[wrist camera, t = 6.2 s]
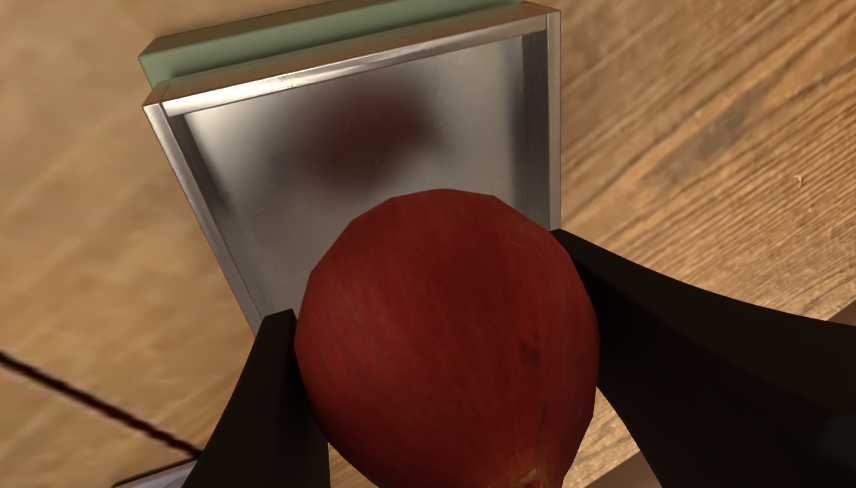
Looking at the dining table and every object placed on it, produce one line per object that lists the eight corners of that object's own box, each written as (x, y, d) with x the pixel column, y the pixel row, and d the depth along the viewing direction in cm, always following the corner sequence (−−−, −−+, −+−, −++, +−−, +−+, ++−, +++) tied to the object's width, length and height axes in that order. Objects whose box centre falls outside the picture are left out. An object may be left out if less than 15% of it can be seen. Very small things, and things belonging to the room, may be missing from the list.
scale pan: (534, 276, 20) (560, 309, 18) (282, 354, 18) (284, 398, 16) (524, -1, 14) (561, 9, 12) (156, 81, 12) (140, 105, 11)
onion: (543, 210, 14) (798, 458, 7) (416, 352, 15) (535, 663, 9) (380, 84, 11) (572, 320, 4) (240, 277, 12) (224, 672, 6)
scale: (515, 235, 23) (540, 265, 21) (271, 307, 21) (273, 347, 19) (498, -35, 17) (531, -29, 15) (152, 39, 15) (135, 56, 13)
